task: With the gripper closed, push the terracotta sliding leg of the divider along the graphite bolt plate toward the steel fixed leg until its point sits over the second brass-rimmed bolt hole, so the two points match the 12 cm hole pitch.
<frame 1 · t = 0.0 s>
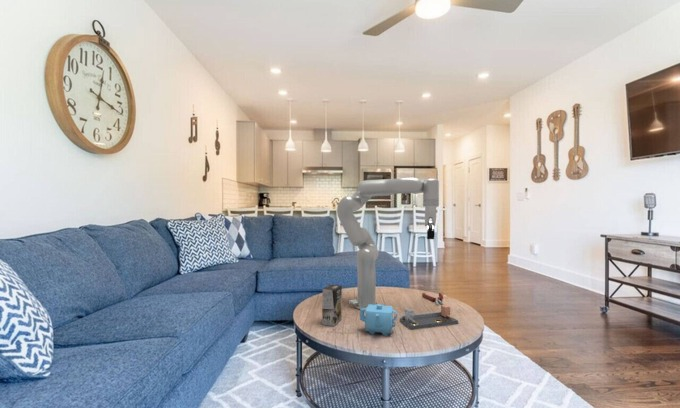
hand: (430, 238, 154), 37 cm above the table, tool pointing down, fingers open, 9 cm apart
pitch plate: (428, 322, 142), on the table
coffee box: (332, 322, 143), on the table
sliding leg: (447, 311, 145), point 4 cm above the table, slide at 0.0 cm
teapot: (378, 332, 132), on the table
pliers: (432, 301, 176), on the table
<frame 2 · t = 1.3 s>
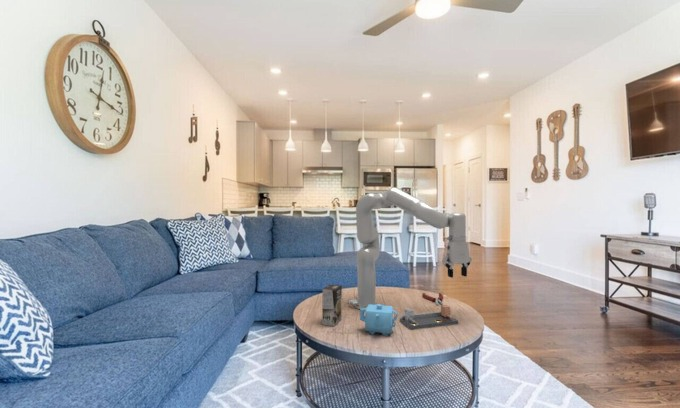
hand: (457, 276, 148), 20 cm above the table, tool pointing down, fingers open, 6 cm apart
nothing on the table moved.
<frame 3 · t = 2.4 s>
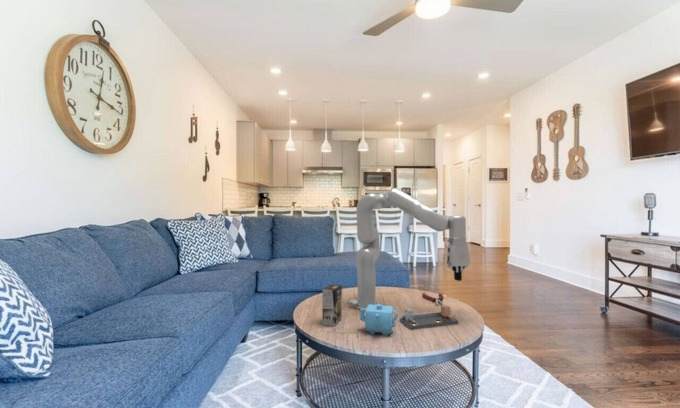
hand: (457, 280, 148), 18 cm above the table, tool pointing down, fingers closed
nothing on the table moved.
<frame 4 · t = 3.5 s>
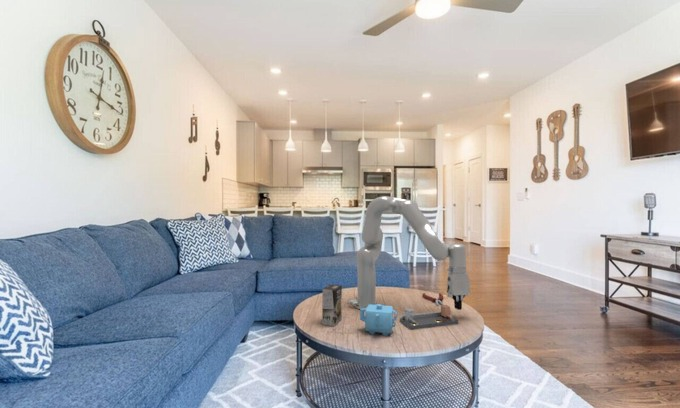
hand: (458, 308, 148), 4 cm above the table, tool pointing down, fingers closed
nothing on the table moved.
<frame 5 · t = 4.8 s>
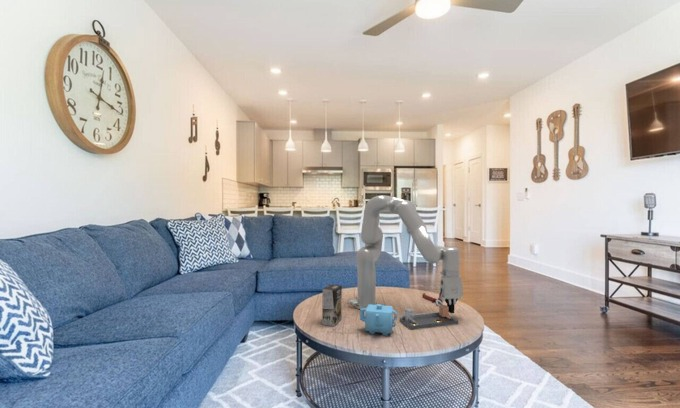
hand: (450, 312, 147), 3 cm above the table, tool pointing down, fingers closed
sliding leg: (445, 312, 144), point 4 cm above the table, slide at 1.0 cm, touching gripper
everything else where it was.
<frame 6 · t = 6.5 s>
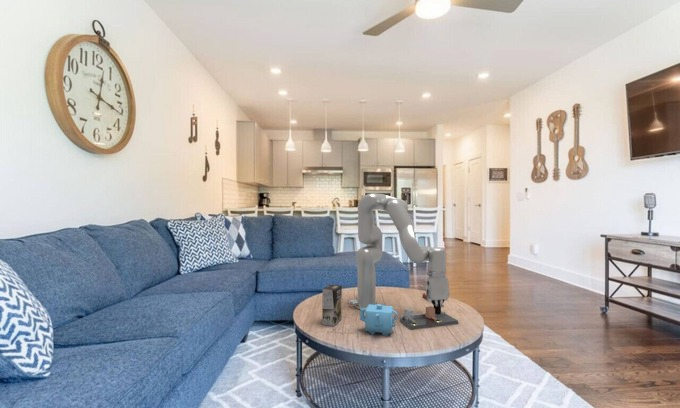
hand: (437, 313, 145), 3 cm above the table, tool pointing down, fingers closed
sliding leg: (432, 313, 142), point 4 cm above the table, slide at 8.2 cm, touching gripper
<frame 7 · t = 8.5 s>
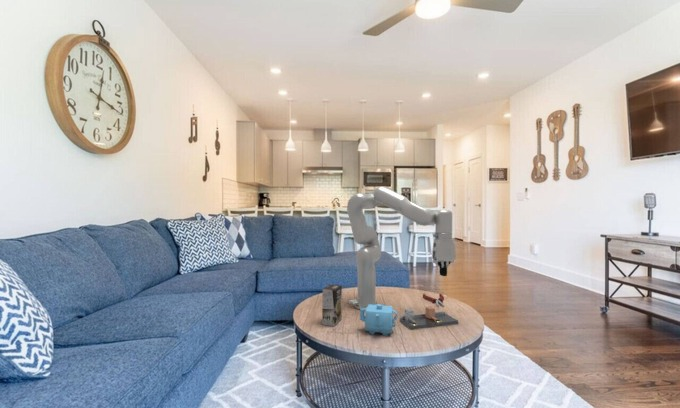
hand: (443, 275, 146), 21 cm above the table, tool pointing down, fingers closed
sliding leg: (432, 313, 142), point 4 cm above the table, slide at 8.3 cm
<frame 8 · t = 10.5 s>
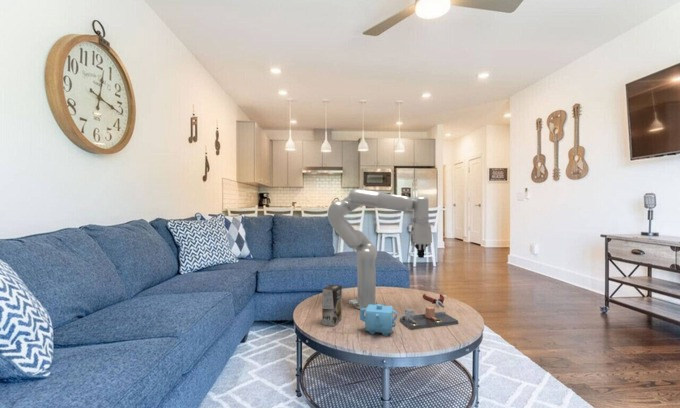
hand: (420, 257, 158), 27 cm above the table, tool pointing down, fingers closed
at the end: sliding leg slide at 8.3 cm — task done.
